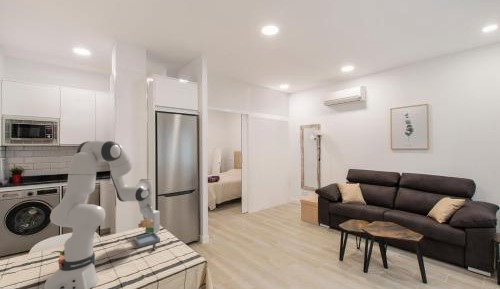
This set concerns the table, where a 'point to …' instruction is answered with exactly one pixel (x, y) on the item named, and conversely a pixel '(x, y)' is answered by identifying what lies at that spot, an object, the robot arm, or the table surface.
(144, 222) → the orange hollow block
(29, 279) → the table surface
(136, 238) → the tray
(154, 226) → the skincare box
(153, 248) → the stake
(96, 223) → the robot arm
